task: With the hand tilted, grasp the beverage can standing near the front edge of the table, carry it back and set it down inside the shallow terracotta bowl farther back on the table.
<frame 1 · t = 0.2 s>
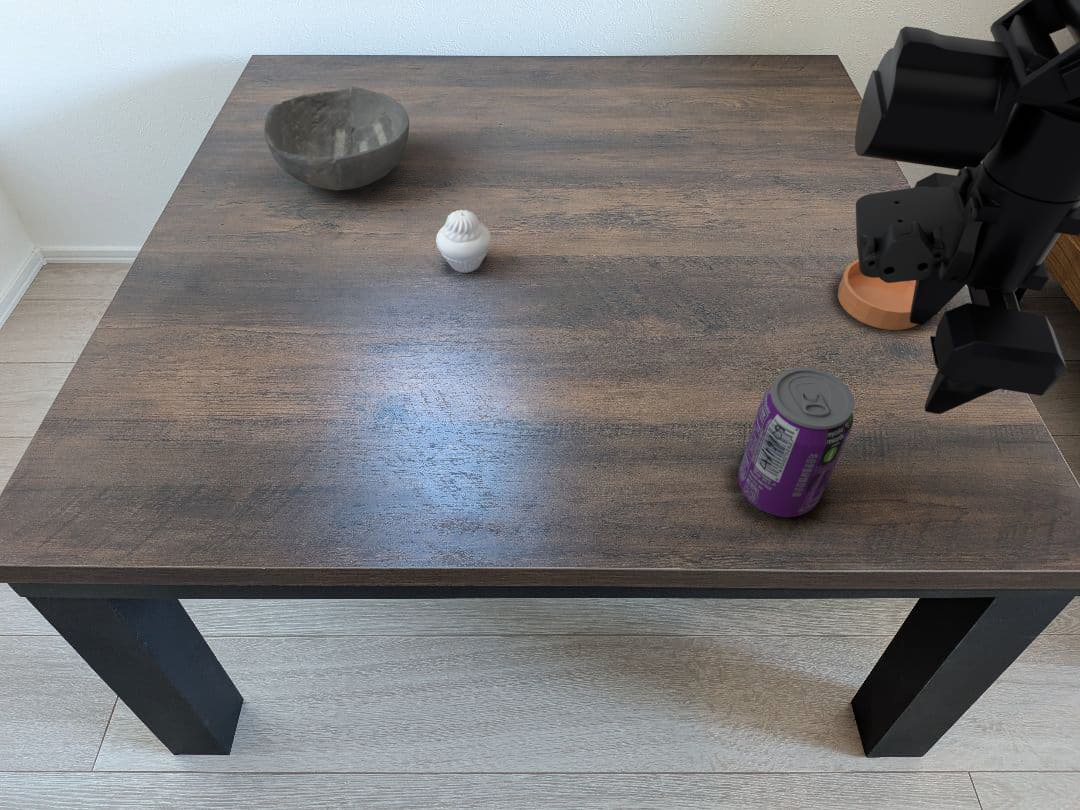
hand: (923, 364, 57), 16 cm above the table, tool pointing down, fingers open, 9 cm apart
muffin: (466, 265, 90), on the table
bowl: (347, 176, 102), on the table
beverage can: (776, 489, 69), on the table
terracotta bowl: (882, 300, 85), on the table
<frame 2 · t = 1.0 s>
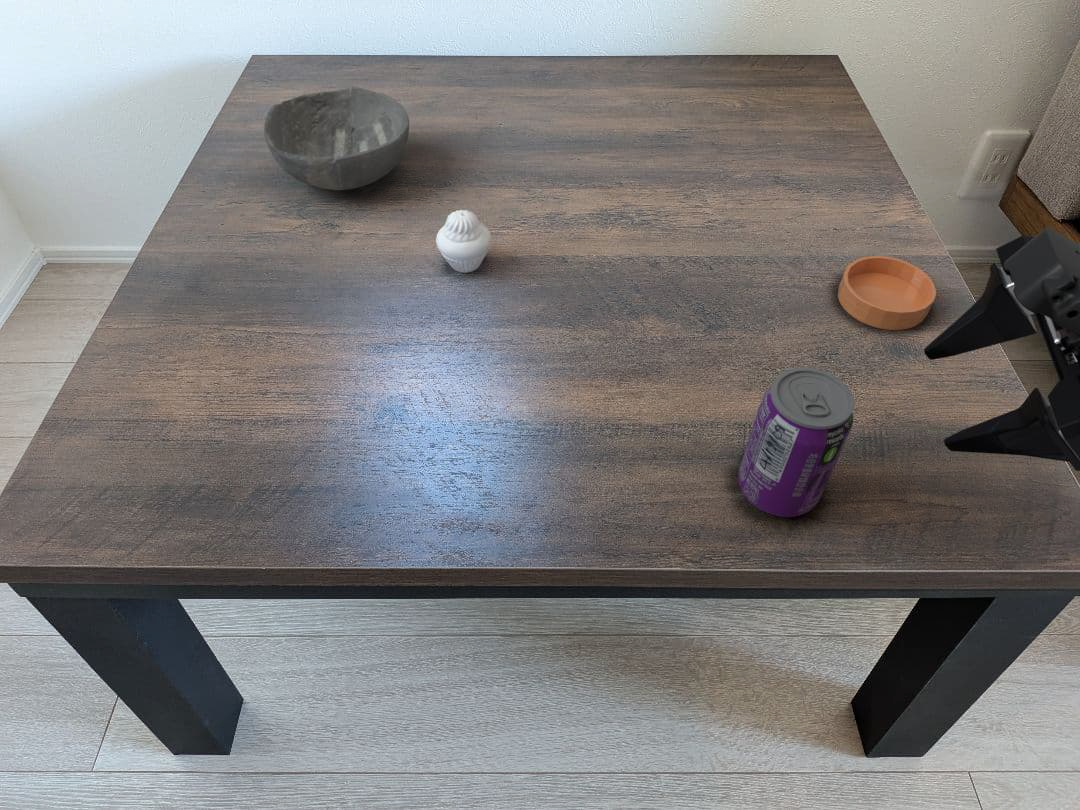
hand: (936, 397, 58), 13 cm above the table, tool tilted 45°, fingers open, 9 cm apart
nothing on the table moved.
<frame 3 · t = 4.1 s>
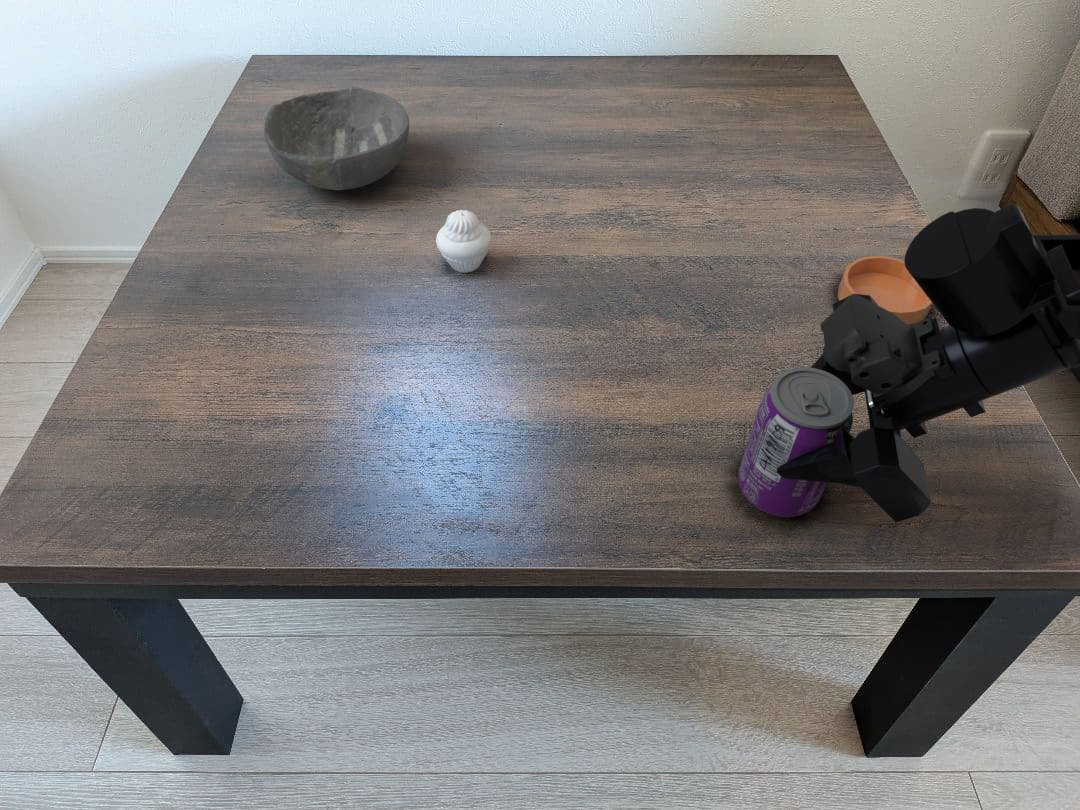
hand: (777, 438, 64), 7 cm above the table, tool tilted 45°, fingers closed on beverage can, 7 cm apart
beverage can: (776, 489, 69), on the table, touching gripper
everything else where it was.
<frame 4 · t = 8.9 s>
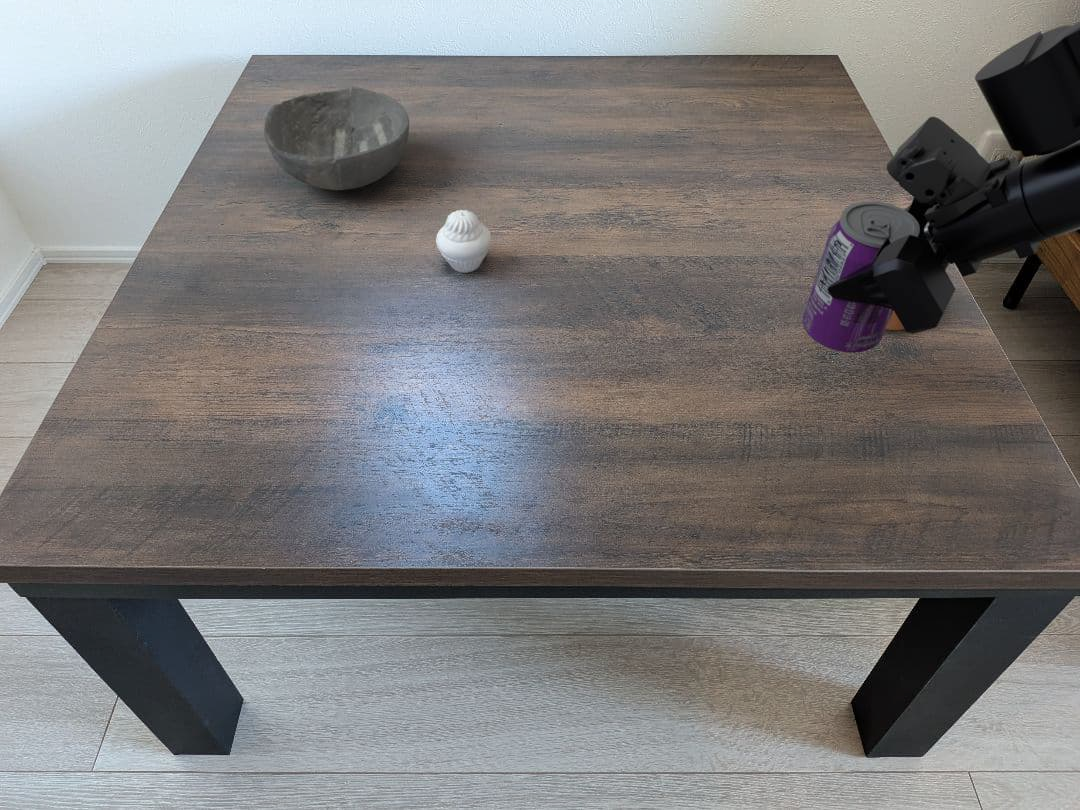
hand: (844, 270, 68), 13 cm above the table, tool tilted 45°, fingers closed on beverage can, 7 cm apart
beverage can: (839, 333, 73), point 6 cm above the table, touching gripper
everything else where it was.
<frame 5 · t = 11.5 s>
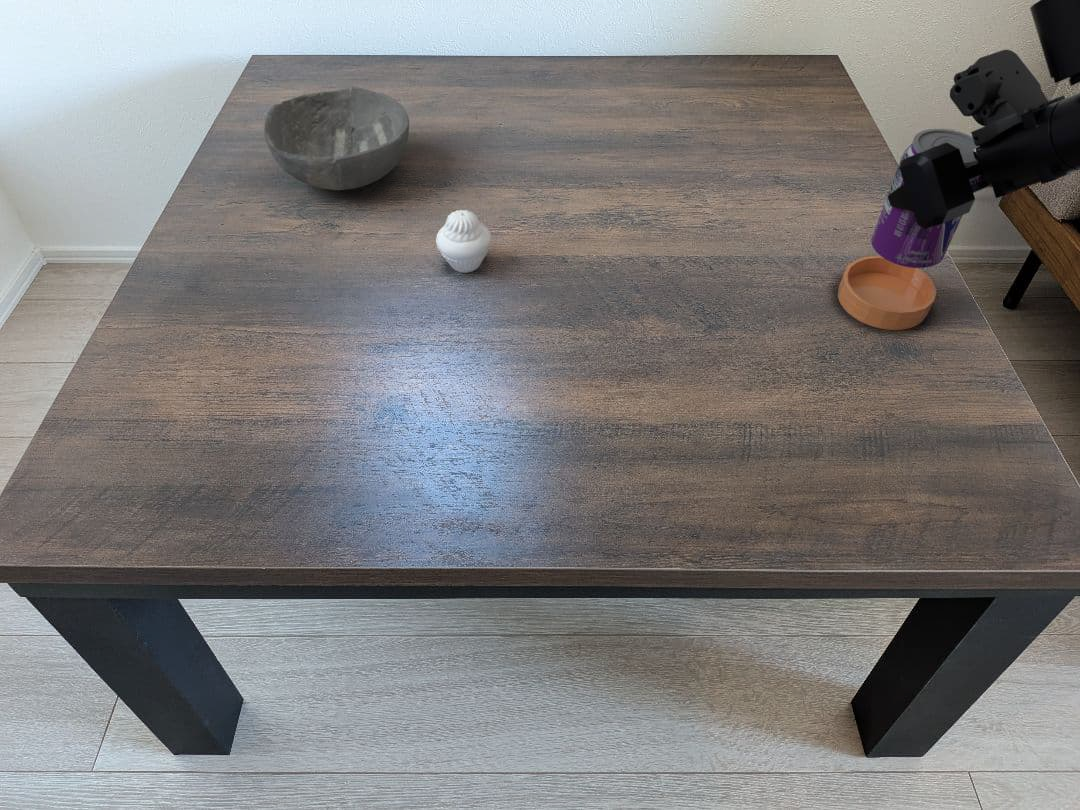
hand: (916, 190, 76), 13 cm above the table, tool tilted 45°, fingers closed on beverage can, 7 cm apart
beverage can: (904, 254, 81), point 6 cm above the table, touching gripper
everything else where it was.
when the fingers open (7 cm above the table, at t = 13.8 s): beverage can stays where it is, resting on terracotta bowl.
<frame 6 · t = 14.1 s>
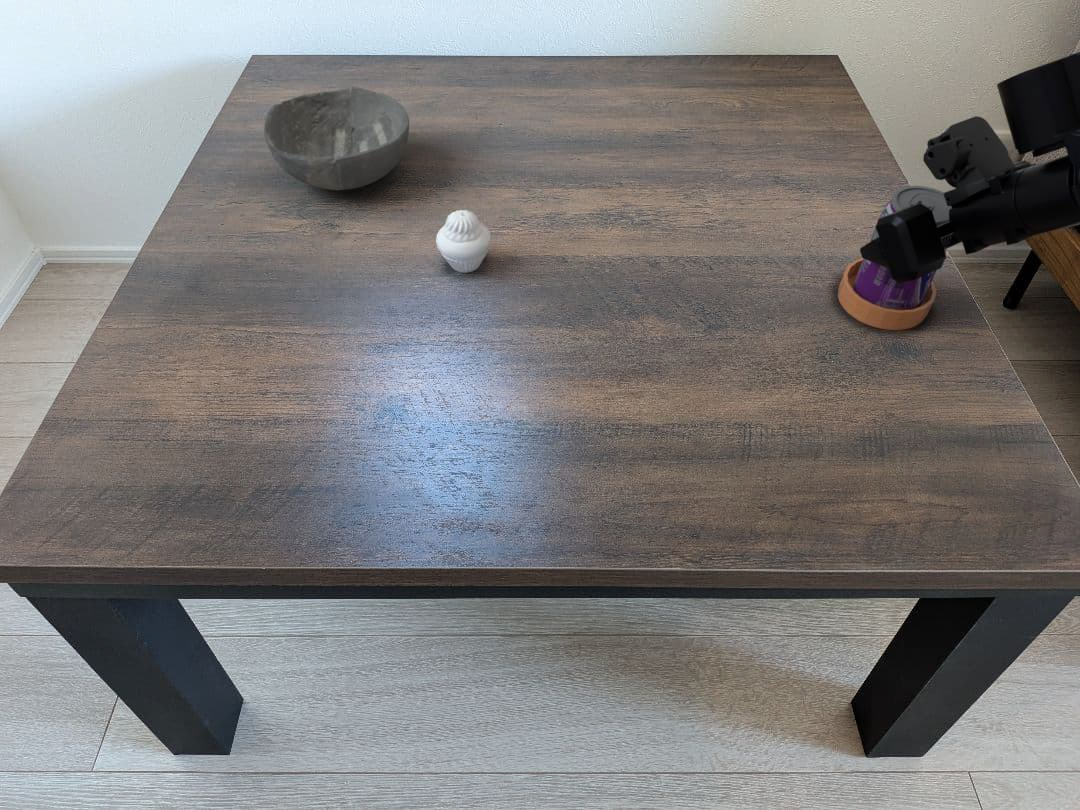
hand: (894, 239, 81), 7 cm above the table, tool tilted 45°, fingers open, 9 cm apart
beverage can: (884, 299, 85), resting on terracotta bowl
everything else where it was.
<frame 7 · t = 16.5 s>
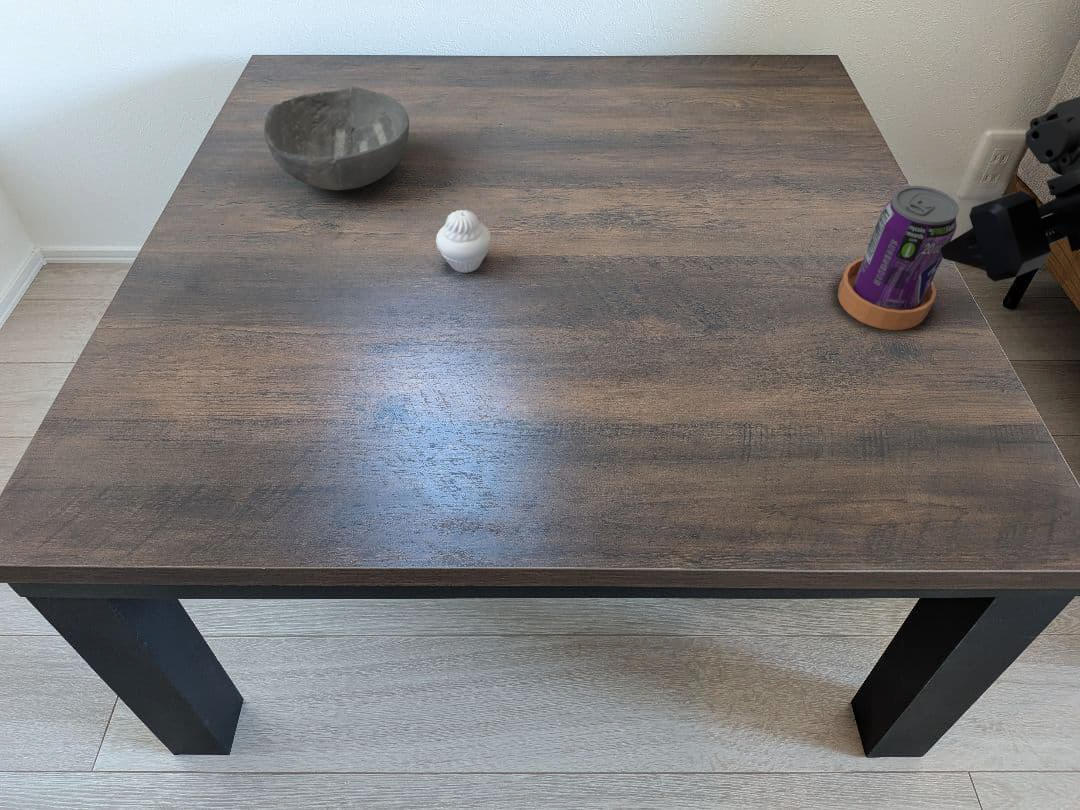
hand: (977, 239, 72), 13 cm above the table, tool tilted 45°, fingers open, 9 cm apart
nothing on the table moved.
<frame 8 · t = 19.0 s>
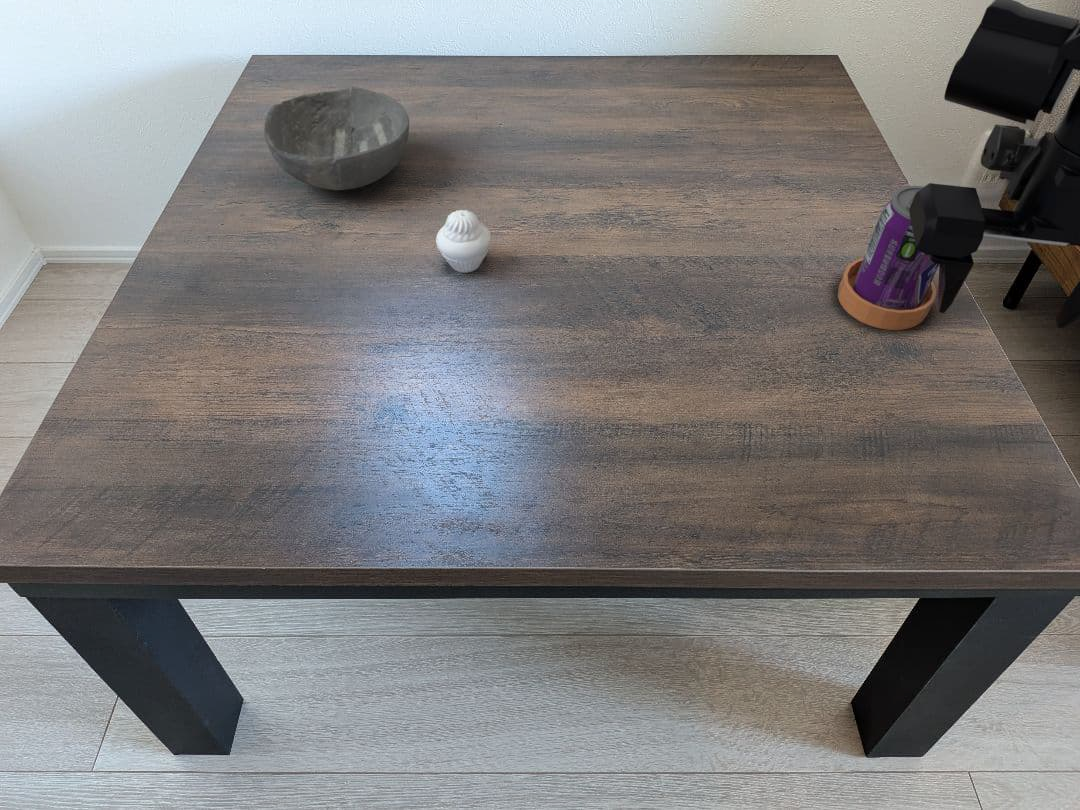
hand: (999, 317, 64), 13 cm above the table, tool pointing down, fingers open, 9 cm apart
nothing on the table moved.
at the end: beverage can 0.1 cm off-centre in the terracotta bowl, point 0.3 cm above the terracotta bowl's base; beverage can tilted 0°; the gripper is holding nothing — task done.
